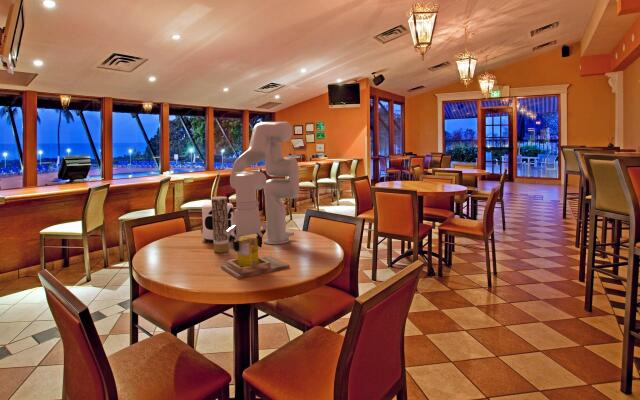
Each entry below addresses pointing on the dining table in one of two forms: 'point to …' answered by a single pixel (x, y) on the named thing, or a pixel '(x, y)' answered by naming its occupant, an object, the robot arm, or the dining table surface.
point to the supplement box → (248, 252)
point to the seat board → (254, 267)
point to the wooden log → (220, 224)
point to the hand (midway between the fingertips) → (248, 248)
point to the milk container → (208, 221)
